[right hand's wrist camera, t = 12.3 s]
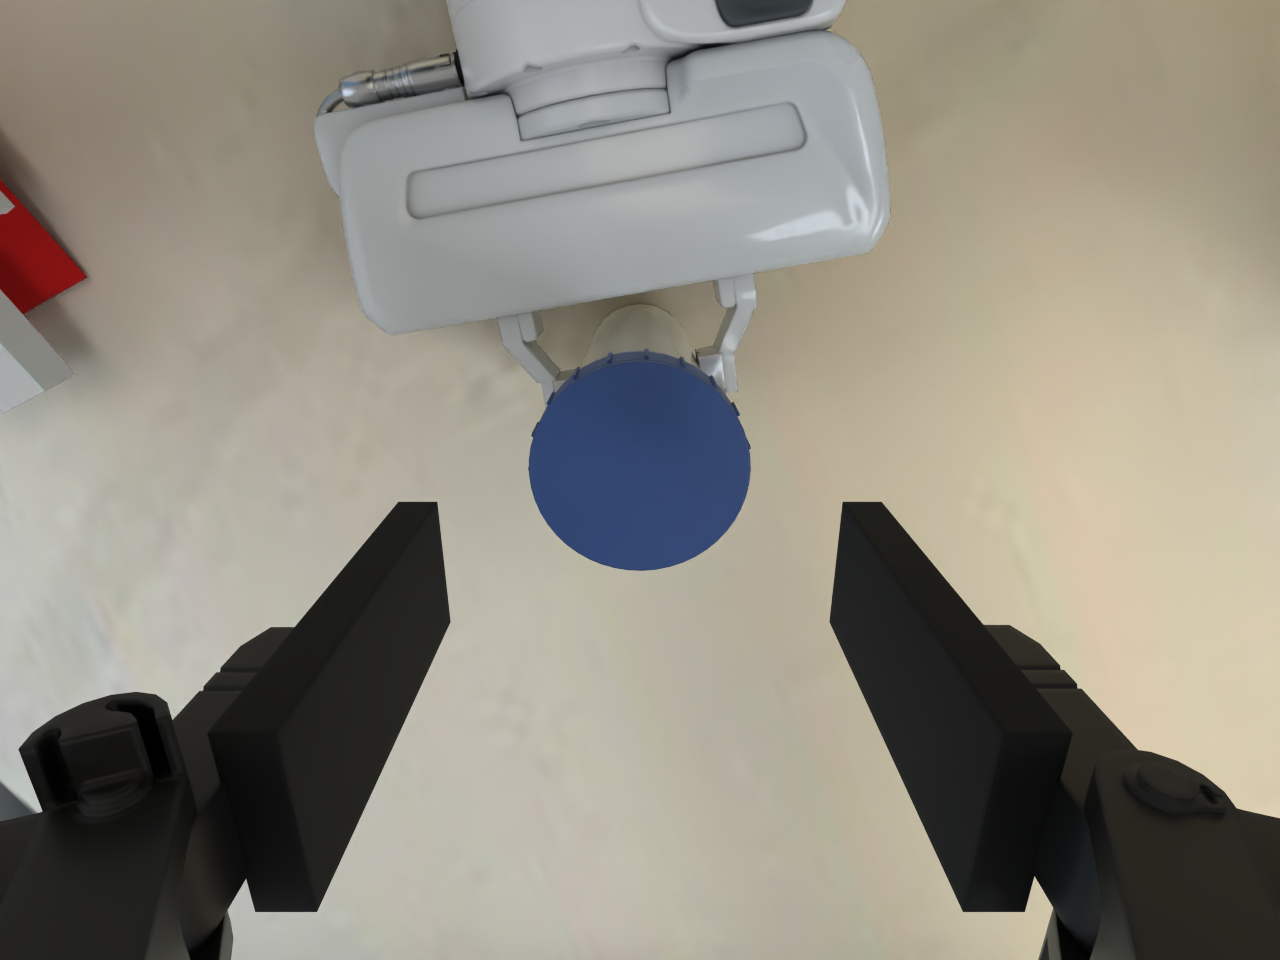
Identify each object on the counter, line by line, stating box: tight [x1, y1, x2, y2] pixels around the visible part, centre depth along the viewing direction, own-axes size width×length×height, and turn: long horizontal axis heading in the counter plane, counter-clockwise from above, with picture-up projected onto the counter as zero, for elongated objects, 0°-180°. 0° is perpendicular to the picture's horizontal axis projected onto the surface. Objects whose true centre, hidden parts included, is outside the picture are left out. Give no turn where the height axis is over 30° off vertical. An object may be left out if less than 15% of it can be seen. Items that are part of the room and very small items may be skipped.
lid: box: [528, 349, 751, 571], centre depth 20 cm, size 6×6×2 cm
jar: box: [581, 304, 699, 369], centre depth 28 cm, size 5×5×17 cm
